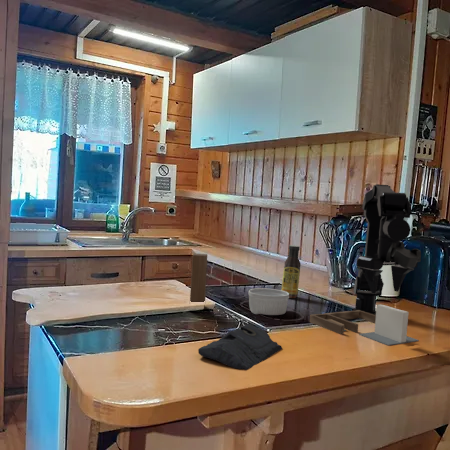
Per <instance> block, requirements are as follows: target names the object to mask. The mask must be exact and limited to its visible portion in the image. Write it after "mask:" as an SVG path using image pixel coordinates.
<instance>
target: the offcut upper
mask: <svg viewBox="0 0 450 450" xmlns="http://www.w3.org/2000/svg"><path fill="white" fill-rule="evenodd" d="M328 320H329V321H332V322H334V323H337V324H340V325H342V326H344V324H342V323H339V322H337V321H334V320H332V319H328Z"/></svg>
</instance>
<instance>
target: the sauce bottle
mask: <svg viewBox="0 0 450 450" xmlns="http://www.w3.org/2000/svg"><path fill="white" fill-rule="evenodd" d="M288 245H289V246H288V256H287V258H286V260H285V261H284V266H283V267H284V268H283V273H282V280H281V281H282V282H281V290H282V291H285V292H288V293H289V299H296V298H297V297H298V293H299V283H300V273H301V261H300V260H299V253H300V249H301V248H300V247H301V246H300V245H295V244H294V245H293V244H291V245H290V244H288Z"/></svg>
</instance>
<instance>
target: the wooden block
mask: <svg viewBox="0 0 450 450" xmlns="http://www.w3.org/2000/svg"><path fill="white" fill-rule="evenodd" d="M191 258H192V259H191V260H192V261H191V275H190V276H191V278H190V292H189V293H190V294H189V302H190V301H191V302H204V301H205V302H206V289H207V288H206V285H207V272H208V271H207V270H208V269H207V268H208V254H206V253H197V252H196V253H193V254H192V256H191Z"/></svg>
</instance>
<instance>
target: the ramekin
mask: <svg viewBox="0 0 450 450" xmlns="http://www.w3.org/2000/svg"><path fill="white" fill-rule="evenodd" d="M289 299H290V298H289V293H288V292H285V291H282V289H275V288H268V287H267V288H263V287H261V288H258V287H257V288H251V289H249V290H248V301H249V302H248V305H249V310H250V311H251V313H252V314H254V315H259V314H260V315H264V316H265V315H266V316H279V315H284V314H285V313H286V312H287V307H288V303H289Z"/></svg>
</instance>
